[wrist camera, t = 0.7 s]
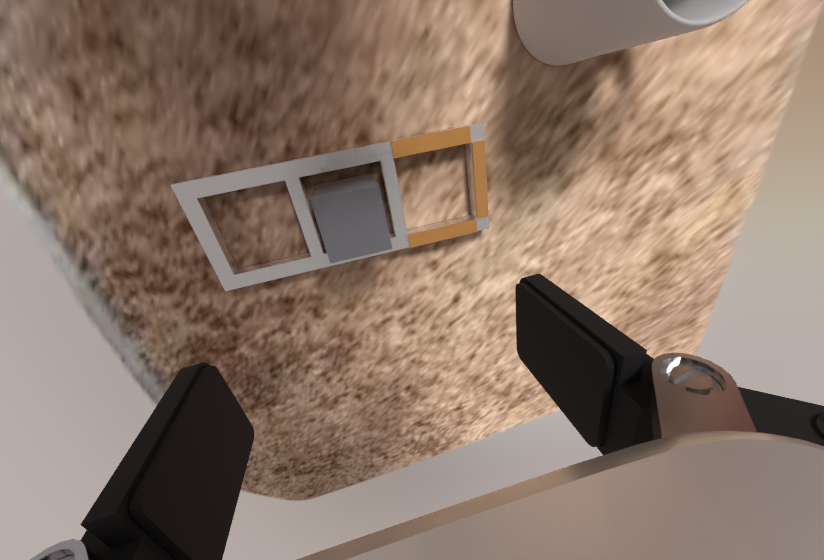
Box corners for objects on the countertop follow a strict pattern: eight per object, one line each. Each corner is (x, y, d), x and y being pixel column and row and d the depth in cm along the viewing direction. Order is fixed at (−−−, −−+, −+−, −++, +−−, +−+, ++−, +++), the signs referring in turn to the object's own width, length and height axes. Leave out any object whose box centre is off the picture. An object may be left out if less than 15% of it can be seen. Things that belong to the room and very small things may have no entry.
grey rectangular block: (315, 184, 25) (310, 200, 20) (370, 173, 25) (379, 185, 20) (331, 236, 27) (330, 263, 22) (381, 225, 27) (392, 248, 22)
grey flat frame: (178, 182, 23) (168, 185, 22) (477, 122, 25) (484, 122, 24) (229, 284, 27) (224, 292, 26) (483, 224, 29) (490, 228, 28)
